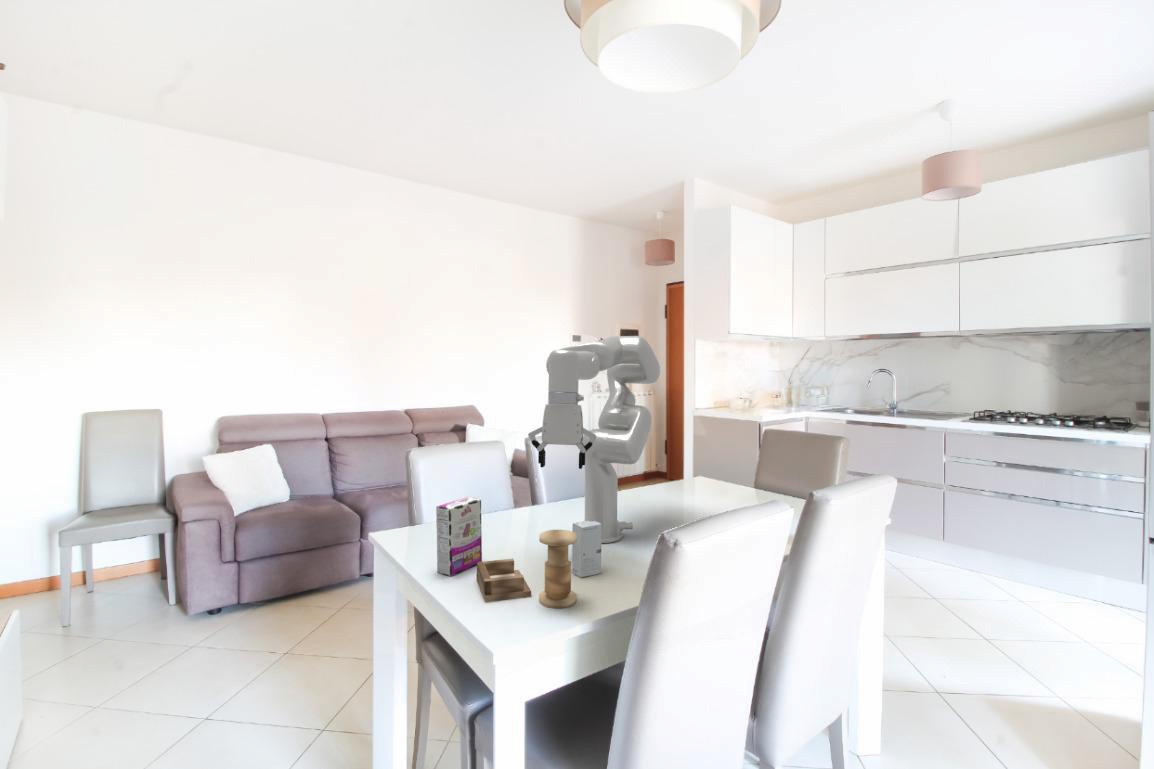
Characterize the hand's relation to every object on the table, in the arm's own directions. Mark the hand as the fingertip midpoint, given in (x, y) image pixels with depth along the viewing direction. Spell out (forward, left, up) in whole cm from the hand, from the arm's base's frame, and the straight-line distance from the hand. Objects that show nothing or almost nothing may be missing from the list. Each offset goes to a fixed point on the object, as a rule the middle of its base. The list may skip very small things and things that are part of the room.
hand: (561, 467), depth 139 cm
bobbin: (+7, +21, -25) cm, 33 cm away
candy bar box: (+25, -4, -25) cm, 35 cm away
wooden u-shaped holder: (+17, +11, -25) cm, 32 cm away
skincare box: (-4, +8, -25) cm, 26 cm away
